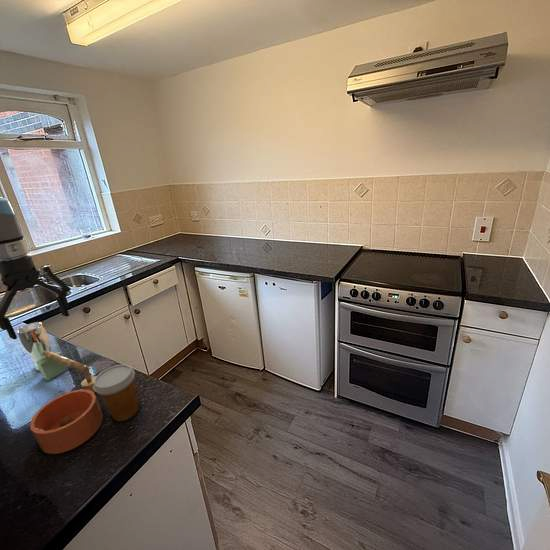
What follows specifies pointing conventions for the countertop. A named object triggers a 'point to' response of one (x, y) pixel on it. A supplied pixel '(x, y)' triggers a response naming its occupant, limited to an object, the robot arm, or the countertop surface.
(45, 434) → the bowl
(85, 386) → the ladle
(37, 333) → the beer glass
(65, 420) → the meatball
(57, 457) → the countertop surface
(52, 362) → the pale green box
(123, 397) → the disposable coffee cup
